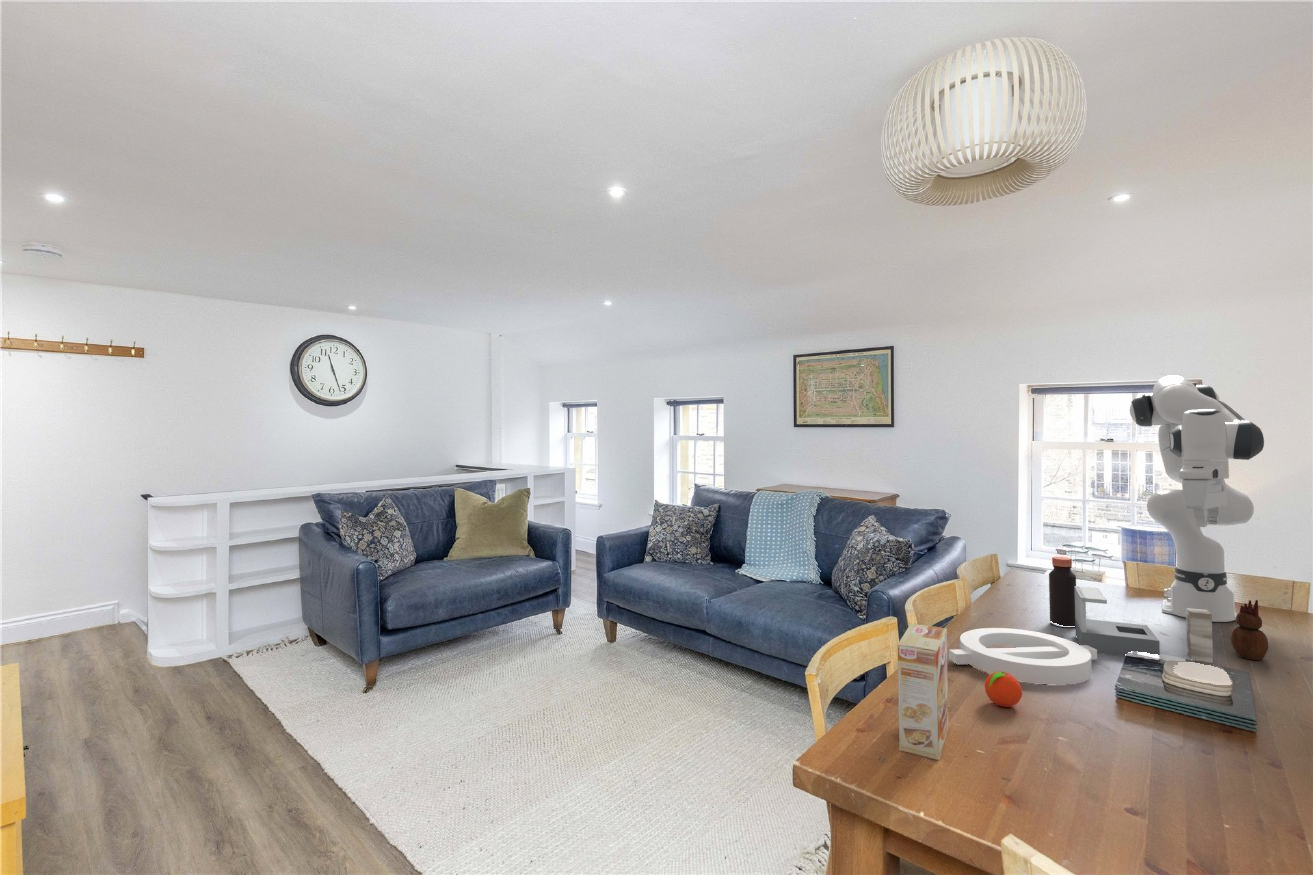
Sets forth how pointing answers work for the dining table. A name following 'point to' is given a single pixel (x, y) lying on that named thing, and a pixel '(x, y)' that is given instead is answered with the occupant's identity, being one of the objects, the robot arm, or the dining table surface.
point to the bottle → (1062, 592)
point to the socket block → (1110, 629)
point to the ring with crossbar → (1026, 655)
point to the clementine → (1003, 689)
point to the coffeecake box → (923, 690)
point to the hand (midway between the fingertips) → (1207, 525)
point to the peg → (1199, 635)
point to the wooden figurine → (1249, 634)
